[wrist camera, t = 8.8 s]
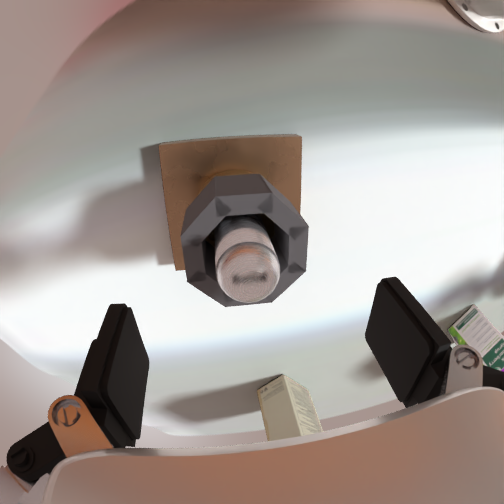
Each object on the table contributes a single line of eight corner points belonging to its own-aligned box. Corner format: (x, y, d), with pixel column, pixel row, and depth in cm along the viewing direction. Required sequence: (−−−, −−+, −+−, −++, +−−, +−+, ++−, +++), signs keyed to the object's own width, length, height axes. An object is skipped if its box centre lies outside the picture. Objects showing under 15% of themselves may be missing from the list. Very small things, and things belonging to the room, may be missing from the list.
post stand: (296, 134, 22) (373, 169, 11) (293, 251, 26) (343, 351, 16) (162, 142, 21) (112, 185, 10) (177, 261, 25) (161, 371, 15)
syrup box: (473, 302, 34) (532, 368, 21) (479, 319, 37) (530, 380, 24) (446, 329, 36) (500, 401, 23) (454, 343, 38) (501, 409, 25)
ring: (290, 171, 18) (310, 190, 14) (288, 264, 21) (303, 298, 17) (182, 179, 17) (175, 200, 14) (194, 272, 20) (191, 309, 17)
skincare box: (255, 389, 35) (271, 476, 24) (284, 372, 34) (308, 461, 23) (285, 405, 38) (304, 482, 27) (311, 390, 37) (337, 468, 26)
